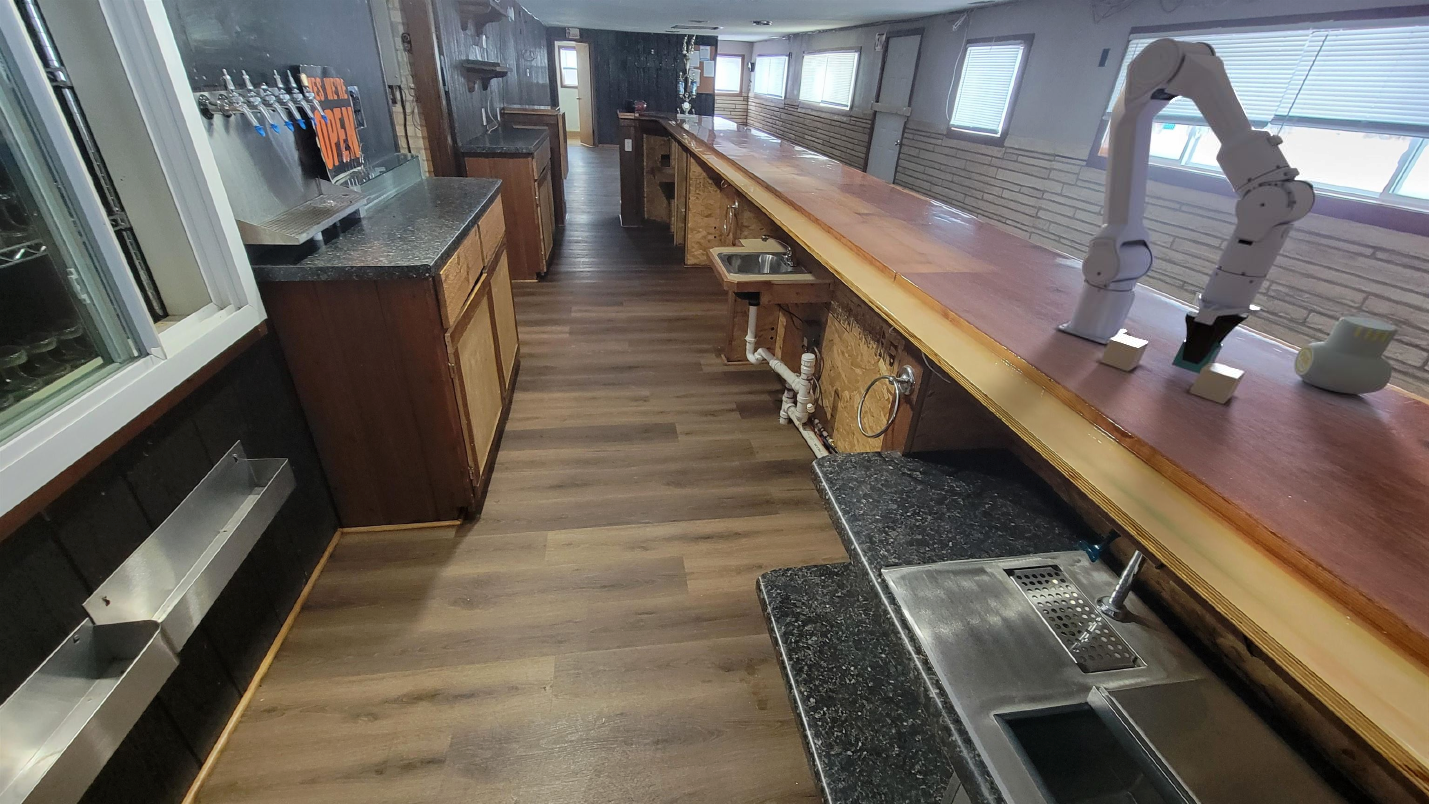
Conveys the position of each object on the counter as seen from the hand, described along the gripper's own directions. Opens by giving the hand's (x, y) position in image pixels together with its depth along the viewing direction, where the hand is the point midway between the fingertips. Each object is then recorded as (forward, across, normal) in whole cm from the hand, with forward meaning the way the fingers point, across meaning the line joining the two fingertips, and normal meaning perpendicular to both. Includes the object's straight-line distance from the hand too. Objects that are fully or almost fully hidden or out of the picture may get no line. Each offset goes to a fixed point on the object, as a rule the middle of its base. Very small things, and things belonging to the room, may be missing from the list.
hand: (1195, 358), depth 86 cm
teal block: (+1, 0, 0) cm, 1 cm away
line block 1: (+2, -6, +7) cm, 10 cm away
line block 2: (+2, -6, -5) cm, 8 cm away
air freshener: (+2, +14, -14) cm, 20 cm away
